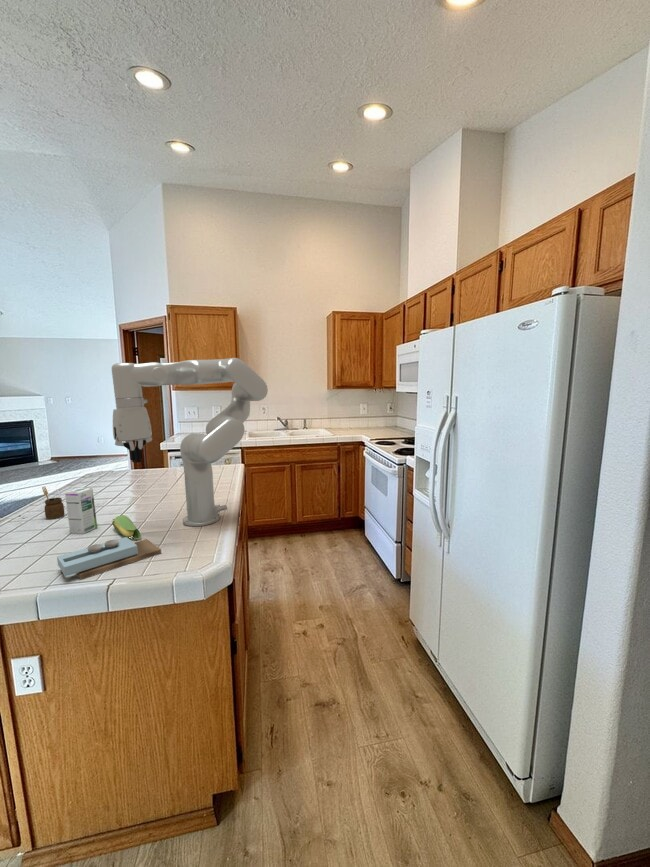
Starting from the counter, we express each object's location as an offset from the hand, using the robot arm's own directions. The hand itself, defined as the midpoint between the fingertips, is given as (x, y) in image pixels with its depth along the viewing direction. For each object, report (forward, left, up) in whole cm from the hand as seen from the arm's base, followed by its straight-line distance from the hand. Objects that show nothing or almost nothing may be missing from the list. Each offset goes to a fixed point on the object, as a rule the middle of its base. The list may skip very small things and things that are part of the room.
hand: (136, 461), depth 116 cm
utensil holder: (+16, -47, -25) cm, 56 cm away
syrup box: (+12, -22, -25) cm, 35 cm away
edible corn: (+3, -7, -25) cm, 26 cm away
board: (+11, +11, -25) cm, 29 cm away
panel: (+15, +11, -23) cm, 30 cm away
